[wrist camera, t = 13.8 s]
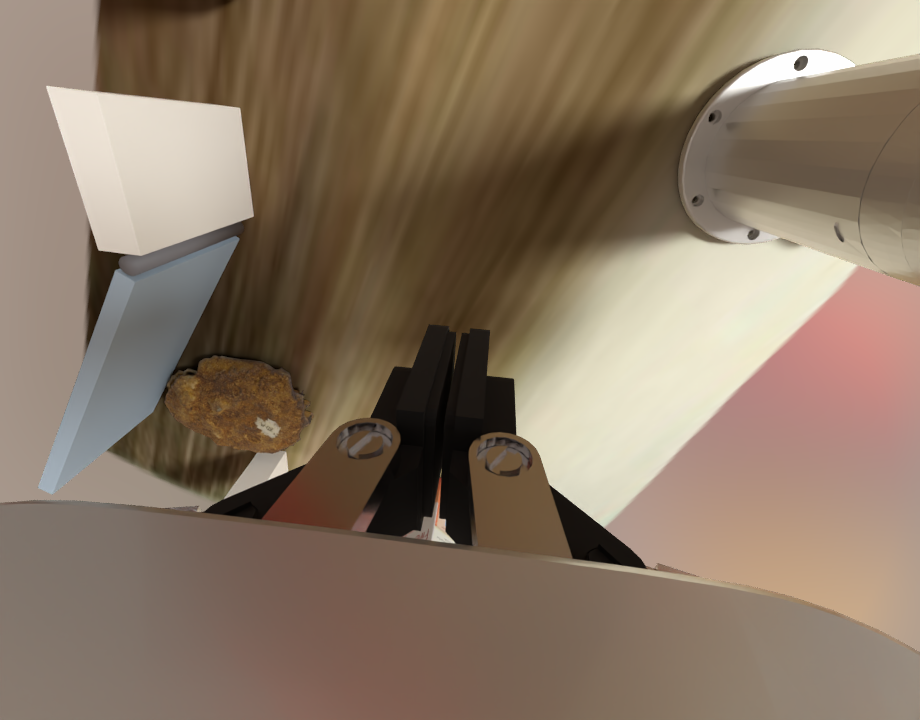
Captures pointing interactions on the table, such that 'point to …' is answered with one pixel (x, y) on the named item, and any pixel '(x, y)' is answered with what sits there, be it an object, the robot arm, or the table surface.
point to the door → (136, 346)
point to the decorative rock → (239, 404)
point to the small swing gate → (159, 182)
